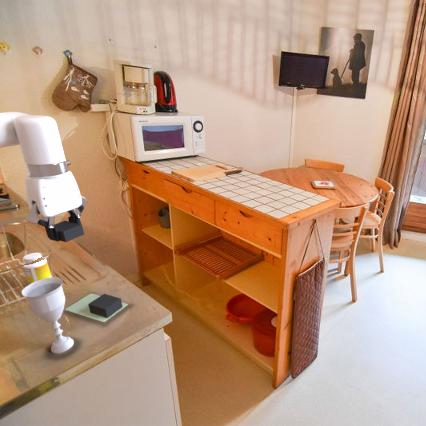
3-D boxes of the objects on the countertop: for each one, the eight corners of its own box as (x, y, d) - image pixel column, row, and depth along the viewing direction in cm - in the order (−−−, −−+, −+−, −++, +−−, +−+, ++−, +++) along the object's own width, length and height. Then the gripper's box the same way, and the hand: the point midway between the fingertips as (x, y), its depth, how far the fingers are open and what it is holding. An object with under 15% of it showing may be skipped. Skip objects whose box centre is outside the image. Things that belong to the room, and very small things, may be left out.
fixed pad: (90, 312, 88) (87, 304, 87) (106, 301, 92) (104, 293, 91) (107, 318, 86) (105, 309, 85) (122, 306, 91) (120, 298, 90)
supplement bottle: (56, 278, 102) (47, 250, 98) (48, 288, 97) (39, 259, 93) (34, 280, 100) (25, 252, 96) (26, 290, 95) (15, 261, 91)
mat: (64, 311, 88) (64, 309, 88) (91, 294, 96) (90, 293, 95) (104, 323, 85) (104, 322, 85) (128, 305, 92) (128, 304, 92)
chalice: (61, 362, 73) (40, 299, 66) (36, 356, 74) (12, 294, 67) (88, 339, 80) (71, 279, 73) (64, 334, 81) (45, 275, 74)
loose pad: (48, 238, 82) (45, 227, 81) (67, 230, 87) (64, 220, 86) (66, 242, 81) (63, 231, 80) (84, 234, 85) (82, 224, 84)
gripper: (70, 159, 85) (85, 221, 92) (-5, 175, 70) (19, 247, 77) (92, 163, 83) (106, 225, 91) (19, 180, 68) (42, 253, 75)
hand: (66, 234), depth 84 cm, fingers closed on loose pad, 5 cm apart
